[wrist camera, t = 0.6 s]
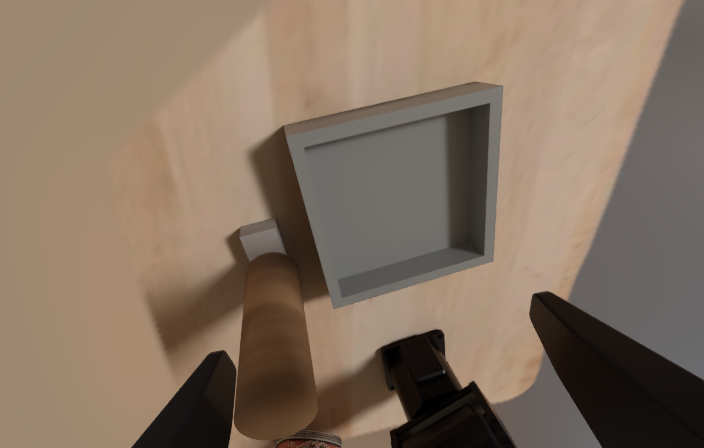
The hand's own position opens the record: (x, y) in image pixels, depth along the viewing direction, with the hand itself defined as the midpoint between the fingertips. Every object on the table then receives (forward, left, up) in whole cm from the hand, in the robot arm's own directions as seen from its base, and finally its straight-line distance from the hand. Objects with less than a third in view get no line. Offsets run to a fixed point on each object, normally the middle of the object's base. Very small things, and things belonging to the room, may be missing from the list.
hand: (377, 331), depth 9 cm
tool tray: (-3, -5, -15) cm, 16 cm away
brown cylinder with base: (-6, +5, -15) cm, 17 cm away
